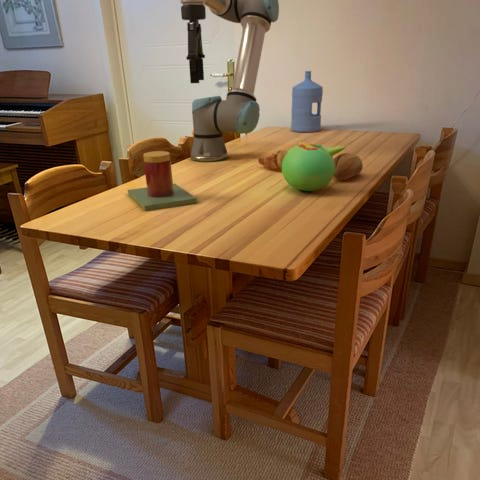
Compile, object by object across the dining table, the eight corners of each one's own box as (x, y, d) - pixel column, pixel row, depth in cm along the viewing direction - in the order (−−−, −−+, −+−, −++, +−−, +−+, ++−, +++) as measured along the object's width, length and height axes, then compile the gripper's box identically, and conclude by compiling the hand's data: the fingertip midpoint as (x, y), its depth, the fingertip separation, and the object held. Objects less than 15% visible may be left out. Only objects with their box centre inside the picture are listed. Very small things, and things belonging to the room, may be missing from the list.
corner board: (128, 194, 156) (127, 189, 155) (175, 187, 162) (174, 183, 161) (145, 211, 140) (144, 205, 139) (197, 202, 146) (196, 198, 145)
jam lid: (141, 159, 147) (140, 152, 146) (165, 156, 149) (165, 150, 149) (148, 163, 141) (147, 157, 140) (173, 160, 143) (173, 154, 142)
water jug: (289, 132, 252) (291, 72, 238) (292, 128, 265) (293, 70, 251) (320, 132, 250) (323, 71, 236) (320, 128, 263) (324, 70, 249)
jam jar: (144, 192, 152) (140, 154, 146) (169, 189, 155) (165, 152, 149) (151, 198, 146) (147, 159, 140) (177, 195, 148) (173, 156, 143)
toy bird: (272, 186, 161) (273, 139, 153) (316, 180, 166) (319, 134, 159) (299, 199, 146) (301, 149, 139) (346, 192, 152) (350, 143, 144)
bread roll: (324, 181, 165) (325, 156, 161) (340, 171, 176) (341, 148, 172) (351, 184, 161) (353, 159, 157) (365, 174, 172) (368, 151, 168)
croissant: (312, 179, 180) (317, 158, 180) (305, 171, 171) (310, 149, 171) (261, 173, 189) (265, 152, 188) (251, 165, 180) (255, 144, 179)
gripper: (186, 7, 160) (191, 79, 170) (174, 2, 138) (180, 84, 149) (209, 6, 159) (212, 78, 170) (200, 1, 138) (204, 84, 148)
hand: (197, 81), depth 159 cm, fingers open, 13 cm apart
